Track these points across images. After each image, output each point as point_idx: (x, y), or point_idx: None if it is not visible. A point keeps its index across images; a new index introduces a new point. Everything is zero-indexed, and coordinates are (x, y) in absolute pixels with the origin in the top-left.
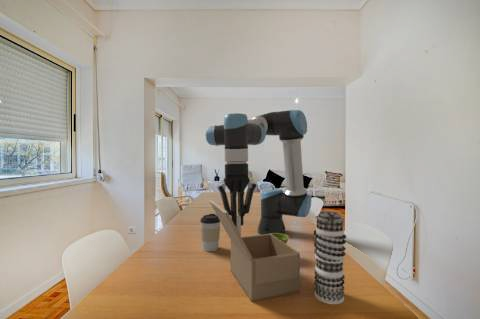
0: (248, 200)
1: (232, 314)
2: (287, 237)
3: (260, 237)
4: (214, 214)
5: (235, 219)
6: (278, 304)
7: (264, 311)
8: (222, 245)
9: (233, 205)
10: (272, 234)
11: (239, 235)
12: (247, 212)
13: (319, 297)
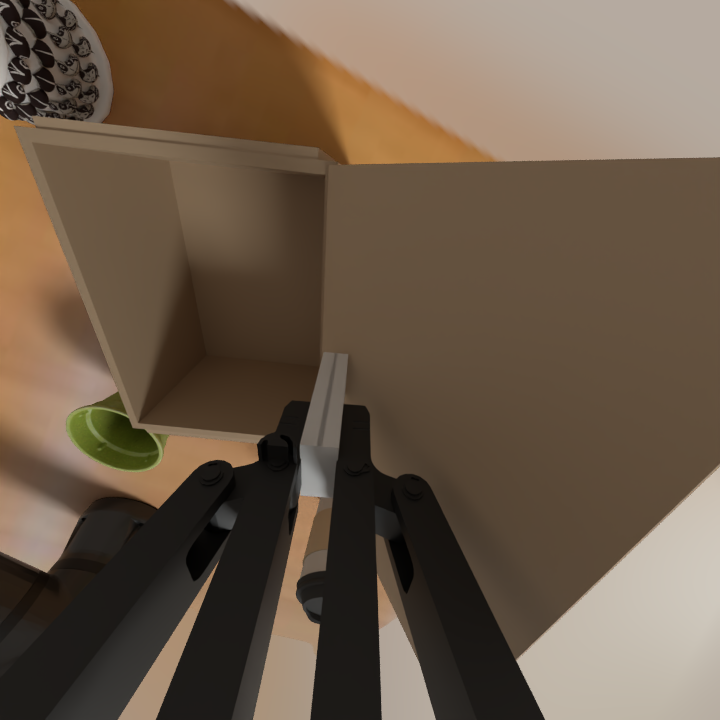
0: (103, 630)
1: (443, 127)
2: (74, 425)
3: (190, 422)
4: (310, 617)
5: (346, 441)
6: (271, 107)
7: (337, 88)
8: (303, 502)
9: (368, 577)
10: (130, 466)
11: (437, 164)
12: (214, 467)
13: (96, 58)
